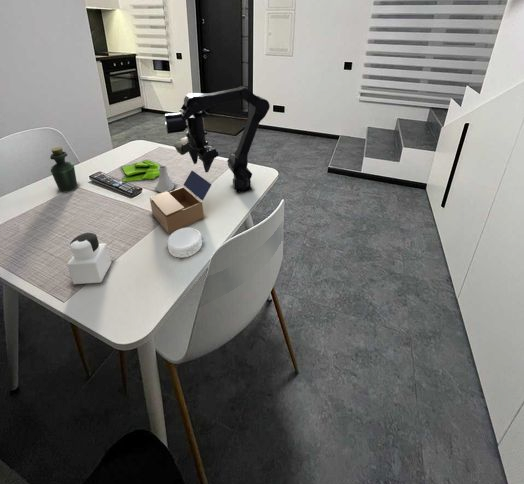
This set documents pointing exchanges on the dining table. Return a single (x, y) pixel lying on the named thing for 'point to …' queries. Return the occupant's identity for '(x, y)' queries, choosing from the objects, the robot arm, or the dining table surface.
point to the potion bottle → (63, 170)
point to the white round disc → (184, 242)
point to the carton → (176, 209)
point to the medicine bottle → (88, 259)
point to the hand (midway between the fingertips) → (200, 167)
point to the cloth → (141, 171)
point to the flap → (197, 185)
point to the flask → (164, 180)
